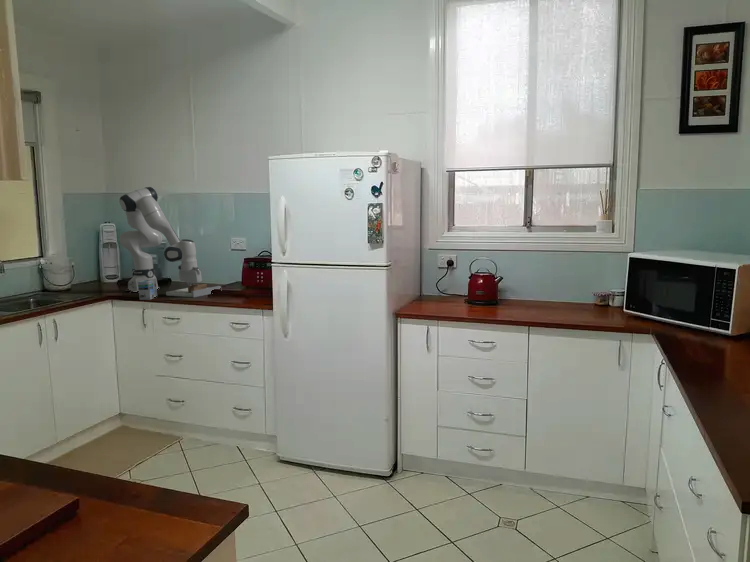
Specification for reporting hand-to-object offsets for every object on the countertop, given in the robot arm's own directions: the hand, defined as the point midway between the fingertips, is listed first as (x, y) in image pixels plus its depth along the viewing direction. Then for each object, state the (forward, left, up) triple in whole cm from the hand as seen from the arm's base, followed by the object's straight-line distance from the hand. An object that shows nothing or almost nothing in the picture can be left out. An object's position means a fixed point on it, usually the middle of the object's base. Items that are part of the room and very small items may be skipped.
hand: (191, 289), depth 344 cm
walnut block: (+4, +1, -1) cm, 5 cm away
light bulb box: (-17, -18, -3) cm, 25 cm away
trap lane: (-3, +4, -3) cm, 6 cm away
